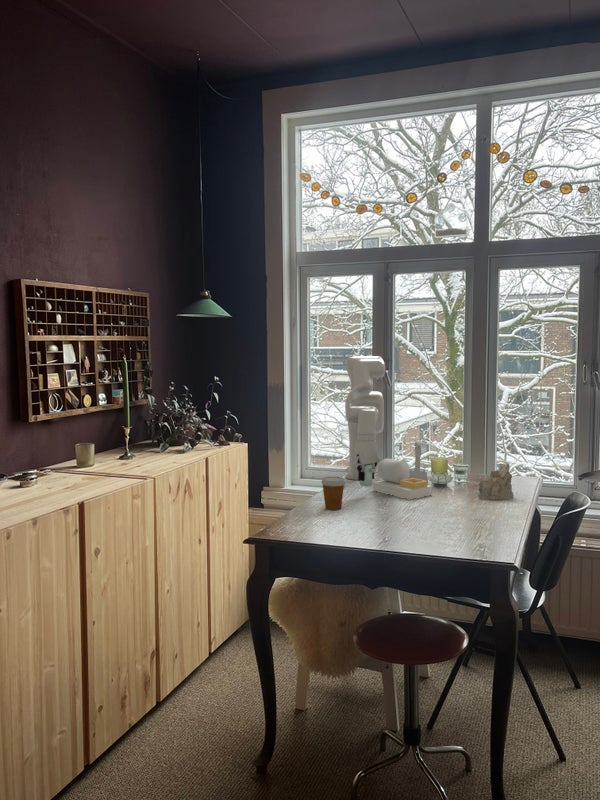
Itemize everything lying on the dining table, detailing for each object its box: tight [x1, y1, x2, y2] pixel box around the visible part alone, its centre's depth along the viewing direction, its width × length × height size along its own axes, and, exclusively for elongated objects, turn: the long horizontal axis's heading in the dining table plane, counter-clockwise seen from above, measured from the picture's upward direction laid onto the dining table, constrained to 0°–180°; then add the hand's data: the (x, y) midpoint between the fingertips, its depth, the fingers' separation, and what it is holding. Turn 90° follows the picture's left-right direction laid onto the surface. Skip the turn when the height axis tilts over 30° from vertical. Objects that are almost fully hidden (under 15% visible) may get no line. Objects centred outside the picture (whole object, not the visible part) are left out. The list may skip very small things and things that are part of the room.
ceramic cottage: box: [477, 462, 514, 500], centre depth 288 cm, size 16×16×15 cm
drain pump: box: [359, 464, 377, 488], centre depth 284 cm, size 8×5×9 cm, turn 38°
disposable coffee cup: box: [321, 476, 346, 511], centre depth 265 cm, size 10×10×12 cm
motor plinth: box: [372, 457, 433, 500], centre depth 292 cm, size 22×14×14 cm, turn 38°
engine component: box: [408, 440, 429, 485], centre depth 311 cm, size 11×20×10 cm
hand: (366, 479), depth 285 cm, fingers closed on drain pump, 5 cm apart
